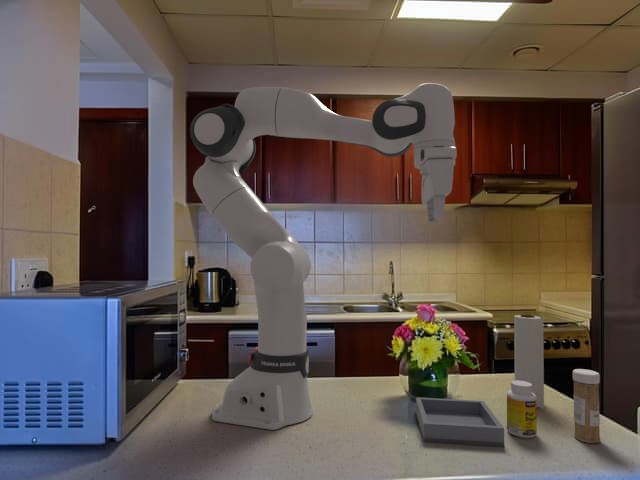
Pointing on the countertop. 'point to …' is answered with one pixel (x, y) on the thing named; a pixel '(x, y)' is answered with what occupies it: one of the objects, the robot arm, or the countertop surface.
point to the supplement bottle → (521, 410)
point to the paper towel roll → (530, 353)
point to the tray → (458, 422)
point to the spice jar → (586, 405)
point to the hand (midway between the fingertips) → (435, 220)
